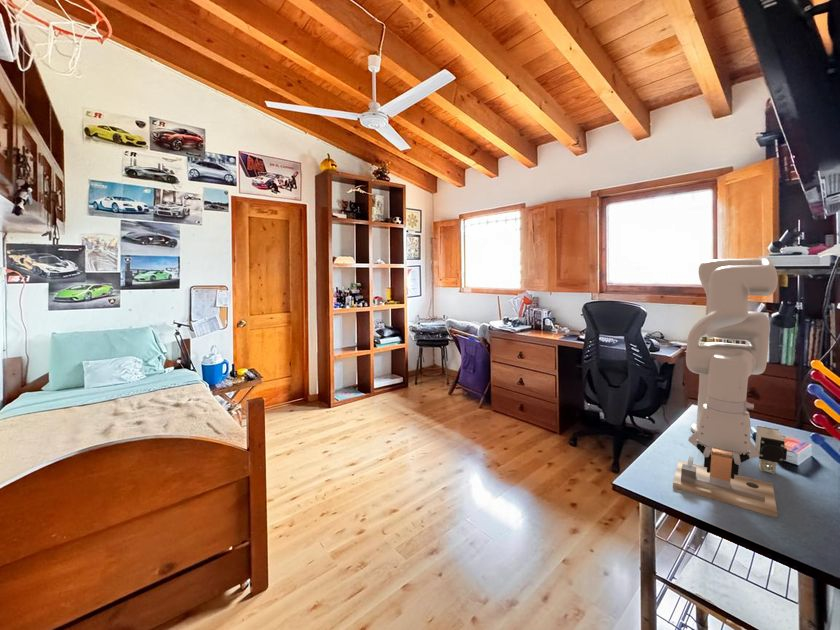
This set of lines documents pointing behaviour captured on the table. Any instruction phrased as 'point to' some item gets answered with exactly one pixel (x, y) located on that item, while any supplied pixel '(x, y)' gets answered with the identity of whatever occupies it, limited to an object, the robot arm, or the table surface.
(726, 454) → the block
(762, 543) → the table surface
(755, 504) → the plate
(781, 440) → the pneumatic valve
